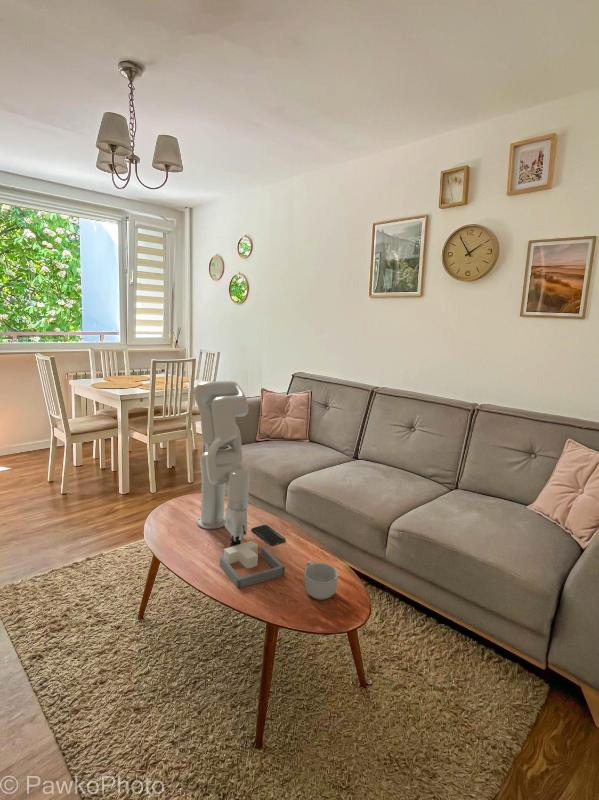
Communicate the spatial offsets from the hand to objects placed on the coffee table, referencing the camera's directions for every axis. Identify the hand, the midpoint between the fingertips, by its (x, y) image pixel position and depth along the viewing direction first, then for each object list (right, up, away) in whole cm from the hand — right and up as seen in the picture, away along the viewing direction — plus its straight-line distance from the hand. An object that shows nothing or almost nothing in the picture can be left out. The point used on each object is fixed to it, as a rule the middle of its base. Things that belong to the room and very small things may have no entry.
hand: (235, 549), depth 165 cm
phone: (+11, 0, +14) cm, 18 cm away
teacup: (+30, -7, -20) cm, 37 cm away
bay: (+7, -4, -11) cm, 13 cm away
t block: (+4, -2, -5) cm, 7 cm away
